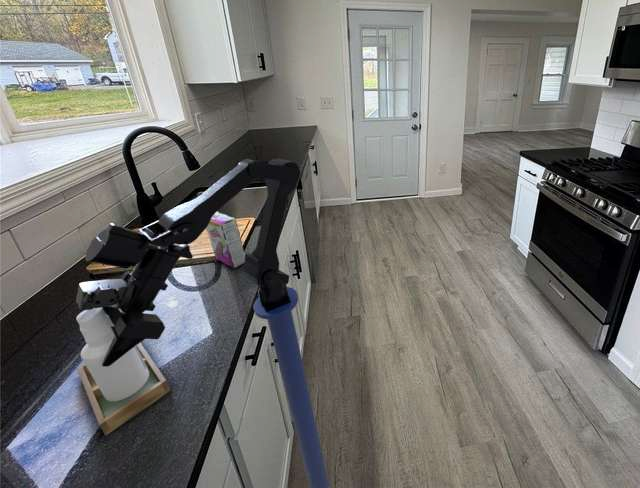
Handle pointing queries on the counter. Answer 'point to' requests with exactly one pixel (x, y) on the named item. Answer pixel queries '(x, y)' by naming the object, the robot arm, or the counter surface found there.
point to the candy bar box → (226, 240)
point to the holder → (123, 410)
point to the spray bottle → (98, 335)
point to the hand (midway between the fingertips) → (100, 355)
